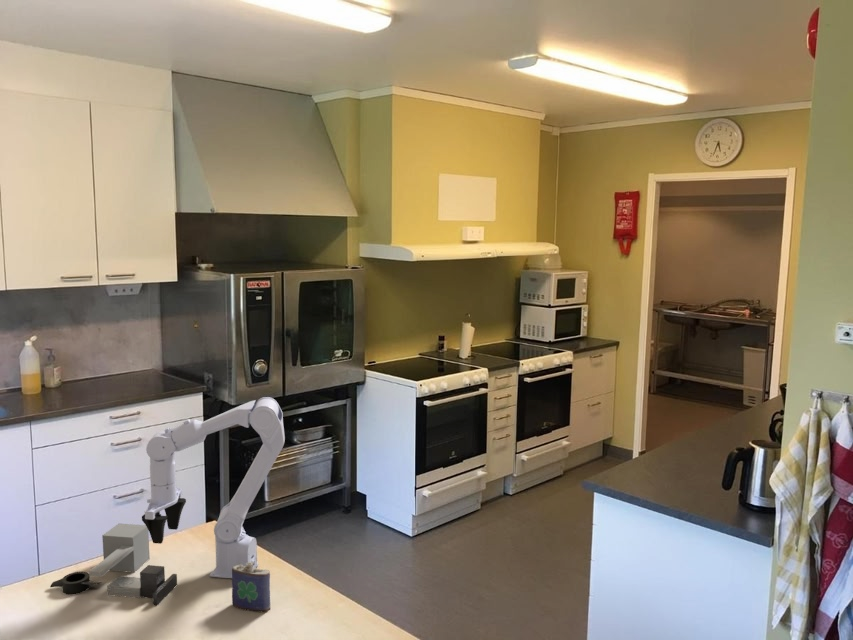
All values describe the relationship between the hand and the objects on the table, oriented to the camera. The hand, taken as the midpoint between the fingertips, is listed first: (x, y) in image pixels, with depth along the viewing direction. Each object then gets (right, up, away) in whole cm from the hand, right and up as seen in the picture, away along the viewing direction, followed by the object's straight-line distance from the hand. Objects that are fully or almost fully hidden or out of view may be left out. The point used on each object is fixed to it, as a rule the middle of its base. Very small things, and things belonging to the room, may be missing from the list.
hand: (165, 535), depth 166 cm
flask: (+24, -12, -13) cm, 30 cm away
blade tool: (-3, -11, -7) cm, 13 cm away
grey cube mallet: (-13, -10, -1) cm, 16 cm away
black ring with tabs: (-19, -11, -6) cm, 23 cm away
